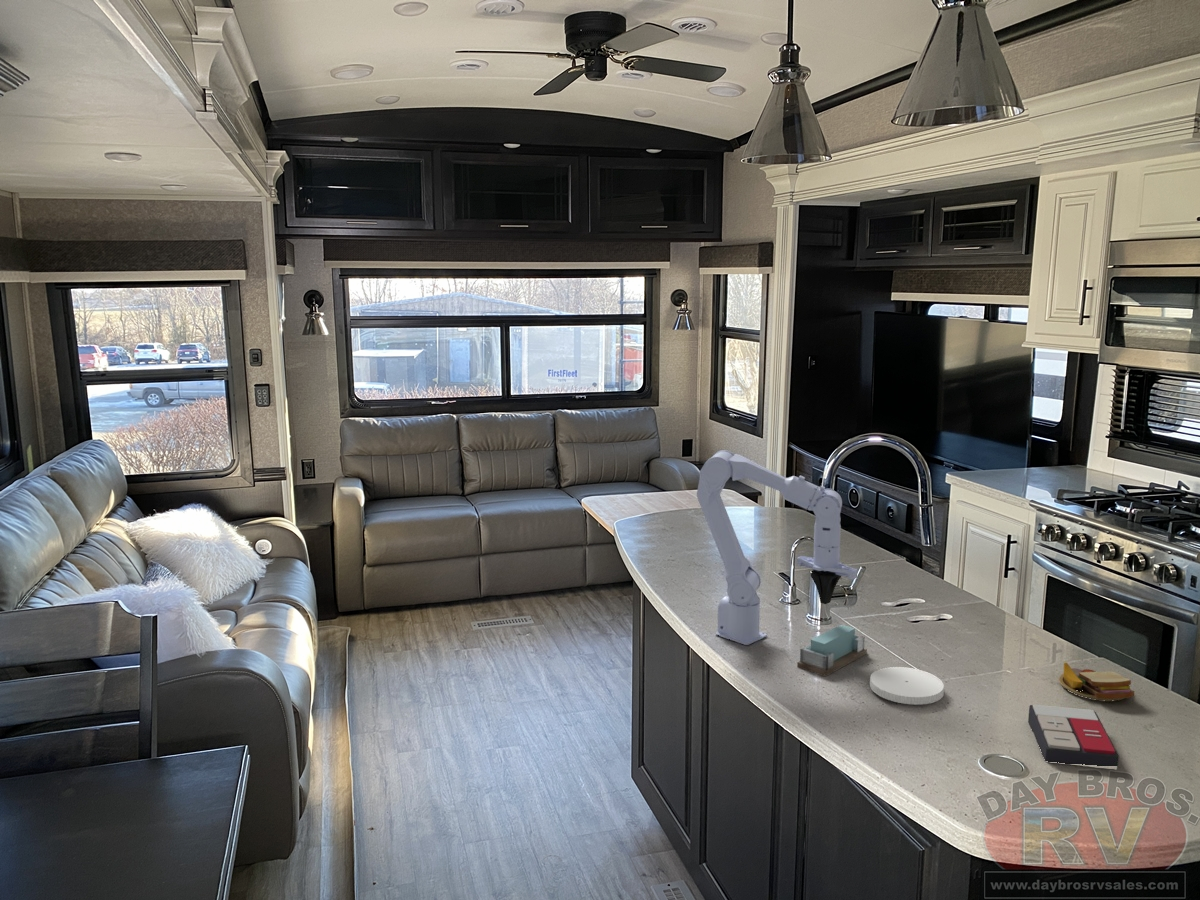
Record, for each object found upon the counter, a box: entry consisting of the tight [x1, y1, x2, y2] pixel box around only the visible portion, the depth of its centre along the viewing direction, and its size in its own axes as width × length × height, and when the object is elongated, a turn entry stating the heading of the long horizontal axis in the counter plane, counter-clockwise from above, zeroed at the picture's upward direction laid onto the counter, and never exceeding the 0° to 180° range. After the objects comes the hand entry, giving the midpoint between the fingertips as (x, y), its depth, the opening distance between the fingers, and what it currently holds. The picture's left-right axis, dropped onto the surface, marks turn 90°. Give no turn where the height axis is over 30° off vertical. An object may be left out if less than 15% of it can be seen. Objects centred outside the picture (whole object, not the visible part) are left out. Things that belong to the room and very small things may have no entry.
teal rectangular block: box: [810, 624, 856, 661], centre depth 192 cm, size 3×12×5 cm, turn 133°
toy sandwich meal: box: [1058, 662, 1135, 702], centre depth 176 cm, size 12×14×5 cm
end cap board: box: [796, 647, 868, 677], centre depth 193 cm, size 7×16×1 cm, turn 133°
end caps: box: [799, 633, 866, 670], centre depth 193 cm, size 6×15×3 cm, turn 133°
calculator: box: [1027, 704, 1120, 767], centre depth 155 cm, size 11×4×15 cm
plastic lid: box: [869, 666, 945, 706], centre depth 177 cm, size 14×14×2 cm
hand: (825, 602), depth 199 cm, fingers closed
